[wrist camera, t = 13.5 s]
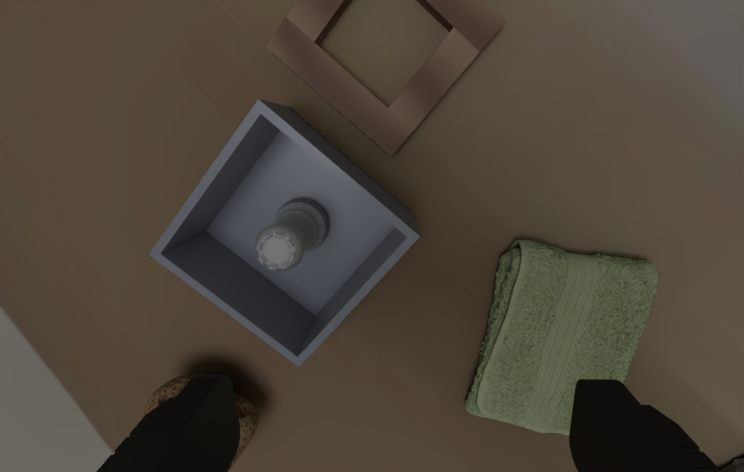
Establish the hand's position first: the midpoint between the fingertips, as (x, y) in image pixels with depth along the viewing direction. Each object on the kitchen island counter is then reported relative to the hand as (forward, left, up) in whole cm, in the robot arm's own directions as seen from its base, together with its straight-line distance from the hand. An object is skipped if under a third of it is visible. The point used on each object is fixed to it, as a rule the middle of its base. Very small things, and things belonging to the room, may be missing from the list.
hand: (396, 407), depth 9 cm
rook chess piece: (+6, -5, -23) cm, 24 cm away
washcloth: (-1, +18, -24) cm, 30 cm away
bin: (+6, -5, -23) cm, 25 cm away
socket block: (-9, -9, -23) cm, 27 cm away
